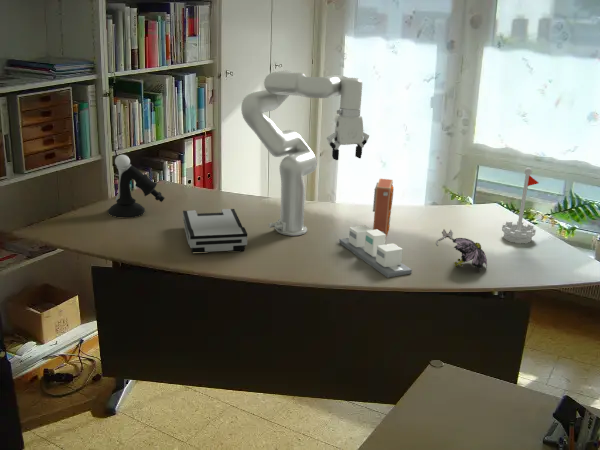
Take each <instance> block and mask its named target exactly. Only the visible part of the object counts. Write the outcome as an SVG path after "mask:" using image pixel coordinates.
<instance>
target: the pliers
mask: <svg viewBox="0 0 600 450" xmlns="http://www.w3.org/2000/svg"><path fill="white" fill-rule="evenodd" d="M441 233H442V237H440V238H439V239H437V240H436V241H435V245H436V246H437V247H438V246H439V242H440V241H442V240H444V238H445V239H446V238H449V239H450V240H451V239H452V241H453V239H454V238H453V234H454V232H453V230H452V229H450V230H449V231H448V232H447V231H446V229H445V228H443V231H442V232H441ZM438 241H439V242H438ZM458 244H460V243H456V245H458Z"/></svg>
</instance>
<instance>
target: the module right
mask: <svg viewBox="0 0 600 450" xmlns="http://www.w3.org/2000/svg"><path fill="white" fill-rule="evenodd" d="M403 250H404V249H403V248H402V247H400V246H398V245H397V244H396V243H387V244H386V243H385V245H378V246H377V253H376V262H378V263H379V264H381V265H382V266H383V267H390V266H396V265H401V263H403V262H402V260H403Z"/></svg>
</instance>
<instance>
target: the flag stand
mask: <svg viewBox="0 0 600 450" xmlns="http://www.w3.org/2000/svg"><path fill="white" fill-rule="evenodd" d="M523 171H524V172H523V173H524V174H525V177H524V183H523V189H522V196H521V203H520V209H519V214H518V219H517V221H516V223H513V221H512V220H509V221H506V222H505V223H504V222H503V223H502V226H501V231H502V232H503V239H504V240H506V241H508V242H510V243H514V242H515V243H514V244H521V243H525V244H529V243H528V242H530V241H531V242H532V239H533V237H534V236H535V235H536V231H537V227H534V225H533V224H531V223H527V225H525V224H524V222H523V218H524V212H525V207H526V206H525V205H526V199H527V194H528V187H529V186H534V185H537V184H539V181H537V180H536V179H535V178H533V177H532V176H531V175H532V173H533V169H532V168H531V167H526V168H524V170H523ZM531 242H530V243H531Z"/></svg>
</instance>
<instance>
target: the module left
mask: <svg viewBox="0 0 600 450" xmlns="http://www.w3.org/2000/svg"><path fill="white" fill-rule="evenodd" d="M368 230H373V228H370V227H369V226H367V225H358V226H350V227H349V230H348V231H349V232H348V238H349V243H351V244H352V245H354V246H355V247H363V246H365V235H366V231H368Z"/></svg>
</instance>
